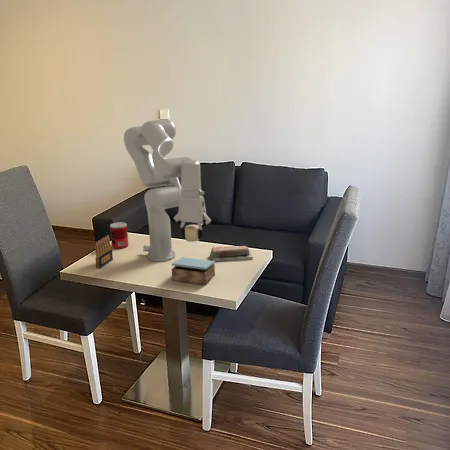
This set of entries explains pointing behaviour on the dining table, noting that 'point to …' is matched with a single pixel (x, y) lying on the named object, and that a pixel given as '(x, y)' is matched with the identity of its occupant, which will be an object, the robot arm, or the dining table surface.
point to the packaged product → (230, 253)
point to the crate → (193, 274)
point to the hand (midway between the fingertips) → (192, 237)
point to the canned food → (119, 235)
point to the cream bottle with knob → (191, 233)
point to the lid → (193, 263)
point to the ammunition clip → (103, 252)
